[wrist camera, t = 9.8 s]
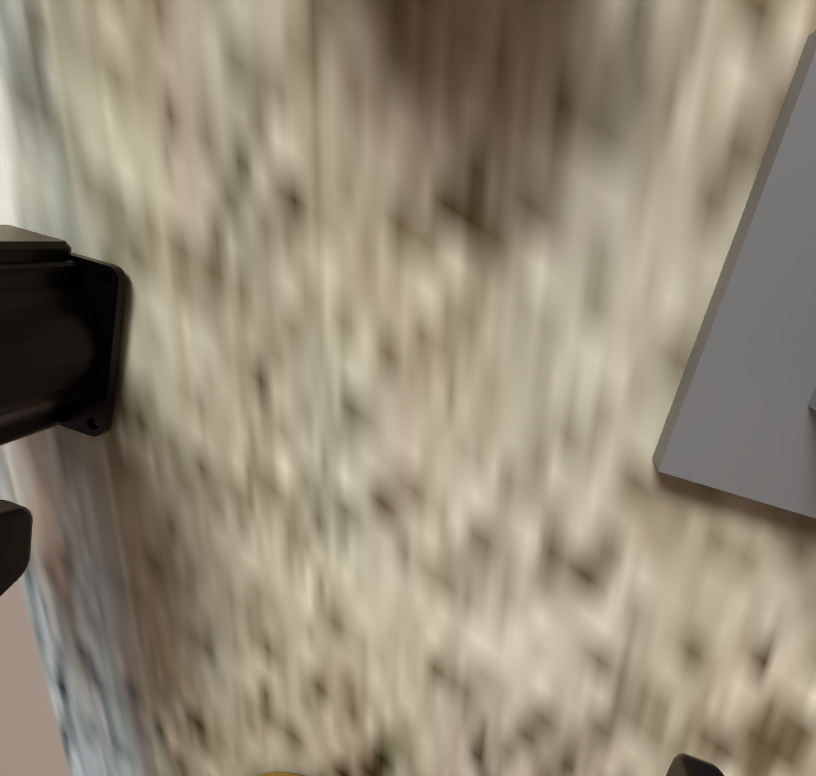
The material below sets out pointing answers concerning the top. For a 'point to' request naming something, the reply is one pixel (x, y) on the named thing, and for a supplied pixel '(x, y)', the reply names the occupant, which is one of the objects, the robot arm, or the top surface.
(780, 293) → the stand base
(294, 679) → the top surface
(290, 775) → the paper tube
